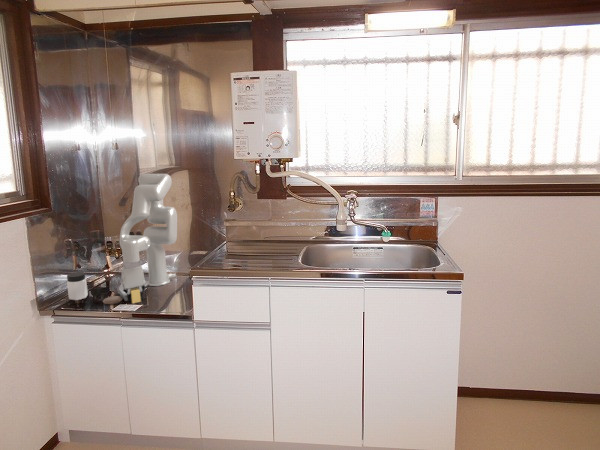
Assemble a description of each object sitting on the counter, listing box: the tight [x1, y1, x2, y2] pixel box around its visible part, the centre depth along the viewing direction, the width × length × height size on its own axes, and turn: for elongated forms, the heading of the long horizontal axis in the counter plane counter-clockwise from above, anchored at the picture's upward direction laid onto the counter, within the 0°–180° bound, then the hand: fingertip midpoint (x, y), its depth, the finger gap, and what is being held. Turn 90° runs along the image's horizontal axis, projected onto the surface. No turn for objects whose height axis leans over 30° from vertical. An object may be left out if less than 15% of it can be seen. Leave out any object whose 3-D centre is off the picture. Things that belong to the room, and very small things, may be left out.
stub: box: [130, 287, 142, 304], centre depth 218 cm, size 4×5×6 cm
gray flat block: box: [118, 287, 143, 302], centre depth 226 cm, size 8×12×3 cm, turn 35°
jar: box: [66, 271, 89, 301], centre depth 224 cm, size 9×8×12 cm
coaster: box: [102, 295, 124, 305], centre depth 220 cm, size 9×9×1 cm
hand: (135, 299), depth 219 cm, fingers closed on stub, 3 cm apart
